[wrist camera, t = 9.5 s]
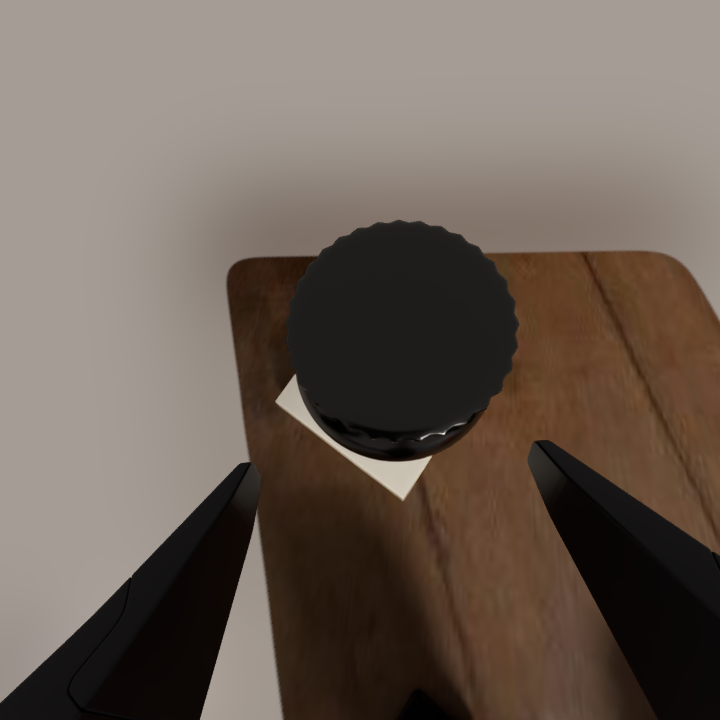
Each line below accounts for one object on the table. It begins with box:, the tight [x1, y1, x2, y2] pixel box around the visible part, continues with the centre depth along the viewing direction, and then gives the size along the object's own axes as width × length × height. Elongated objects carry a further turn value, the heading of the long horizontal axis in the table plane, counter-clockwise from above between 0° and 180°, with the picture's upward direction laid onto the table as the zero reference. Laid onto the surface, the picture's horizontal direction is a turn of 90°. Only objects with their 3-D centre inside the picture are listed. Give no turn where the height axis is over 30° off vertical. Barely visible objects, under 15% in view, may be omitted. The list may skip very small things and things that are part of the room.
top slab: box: [275, 374, 430, 499], centre depth 18 cm, size 10×10×2 cm
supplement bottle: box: [285, 220, 519, 462], centre depth 11 cm, size 7×7×12 cm
